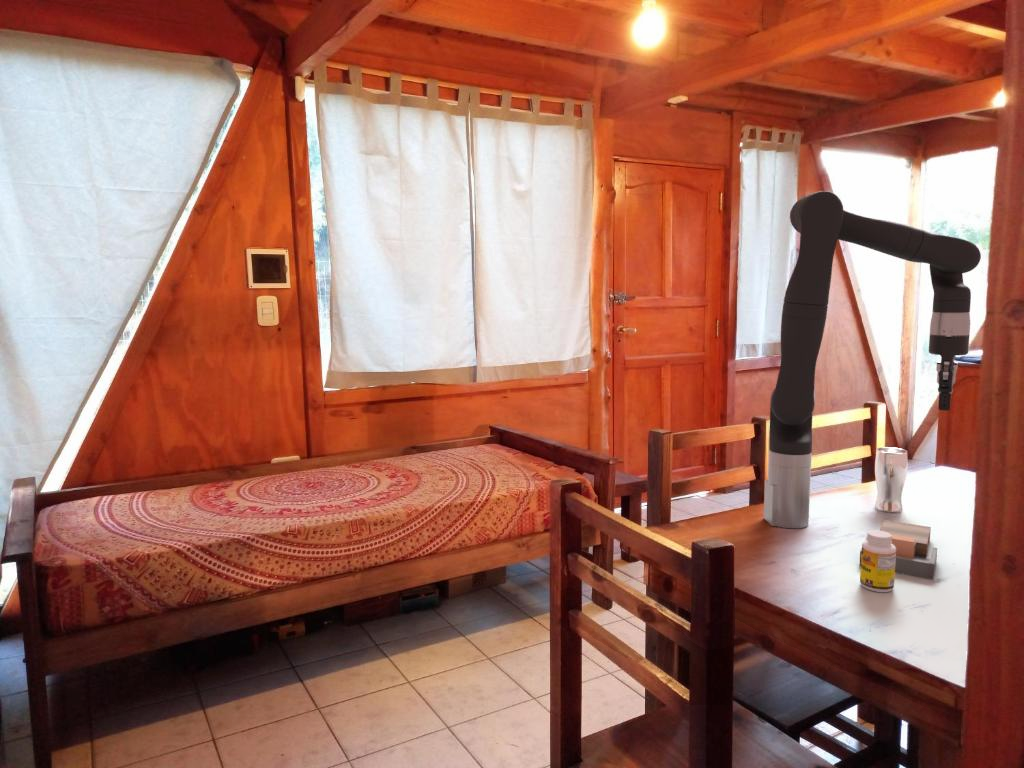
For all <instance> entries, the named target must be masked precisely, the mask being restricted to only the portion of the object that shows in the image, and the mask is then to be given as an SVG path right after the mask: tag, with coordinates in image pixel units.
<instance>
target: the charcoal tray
mask: <svg viewBox="0 0 1024 768" xmlns="http://www.w3.org/2000/svg"><path fill="white" fill-rule="evenodd" d="M866 540H867V536H866V538H865V540H864V541H866ZM861 554H862V547H861V549H860V551H859V567H861ZM937 556H938V547H934V546H933V547H932V549H931V555H930V557H926V558H925V557H919V556H914V559H910V558H904V557H898V556H896V562H895V574H902V575H906V576H911V577H912V576H913V577H918V578H924V579H929V580H935V579H934V578H935V572H936V567H937Z"/></svg>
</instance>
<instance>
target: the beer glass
mask: <svg viewBox="0 0 1024 768" xmlns="http://www.w3.org/2000/svg"><path fill="white" fill-rule="evenodd" d="M875 454H876V455H875V461H874V475H875V476H874V477H875V483H876V491H877V495H876V501H875V504H874V509H875V510H876V511H879V512H882V513H889V514H899V513H902V512H903V504H902V503H903V502H902V495H903V490H904V487H905V483H906V480H907V476H908V450H906V449H903V448H898V447H888V446H885V447H883V446H882V447H878V448H876V453H875Z"/></svg>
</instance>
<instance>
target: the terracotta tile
mask: <svg viewBox="0 0 1024 768" xmlns="http://www.w3.org/2000/svg"><path fill="white" fill-rule="evenodd" d="M892 544H893V545H894V546H895V547H896V556H898V557H904V558H910V559H914V549H915V538H910V537H904V536H898V535H892Z"/></svg>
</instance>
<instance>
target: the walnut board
mask: <svg viewBox="0 0 1024 768" xmlns="http://www.w3.org/2000/svg"><path fill="white" fill-rule="evenodd" d="M882 521H883V522H882V523H881V526H880V529H879V531H884V532H887V533H890V534H891V535H898V536H904V537H910V538H915V542H916V544H915V556H919V557H925V558H928V557H927V556H928V551H929V547H930V542H931V526H927V525H920V524H912V523H907V522H906V523H905V522H899V521H893V520H885V519H883V520H882Z"/></svg>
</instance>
